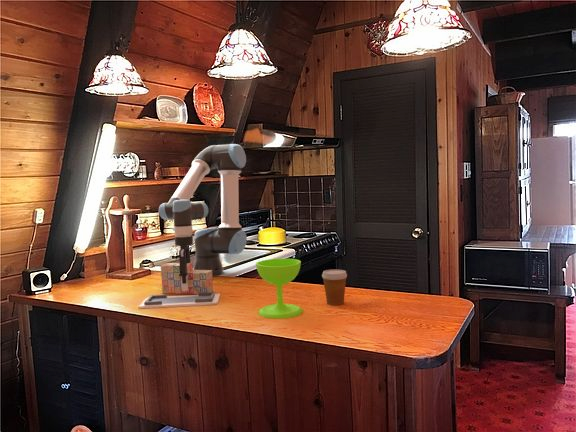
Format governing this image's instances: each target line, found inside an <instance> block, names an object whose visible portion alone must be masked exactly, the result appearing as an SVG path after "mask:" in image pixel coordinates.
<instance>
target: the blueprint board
mask: <svg viewBox="0 0 576 432" xmlns="http://www.w3.org/2000/svg"><path fill="white" fill-rule="evenodd" d="M215 292H216V291H212V292H204V293H198V294H186V295H185V294H184V295H170V296H169V295H167V294H168V293H164V294H150V295H149V296H148V297H146V298H145V299H144V300H143V301H142V302H140V304H139V305H138V307H137V308H138V309H150V308H151V309H159V308H174V307H175V308H176V307H195V306H212V305H213V306H216V305H218V303H219V300H220V297H221V293H215Z"/></svg>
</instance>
